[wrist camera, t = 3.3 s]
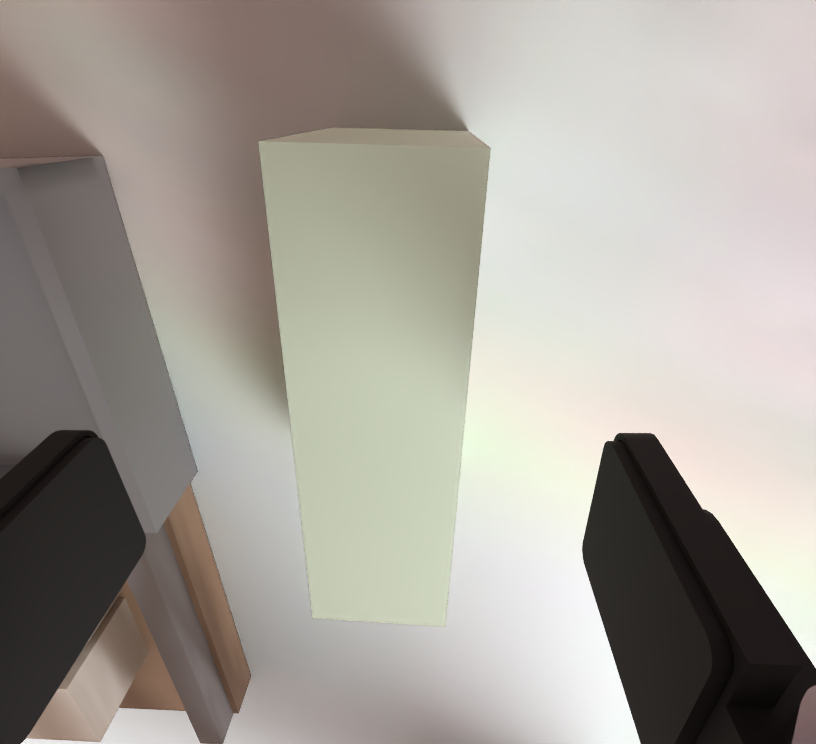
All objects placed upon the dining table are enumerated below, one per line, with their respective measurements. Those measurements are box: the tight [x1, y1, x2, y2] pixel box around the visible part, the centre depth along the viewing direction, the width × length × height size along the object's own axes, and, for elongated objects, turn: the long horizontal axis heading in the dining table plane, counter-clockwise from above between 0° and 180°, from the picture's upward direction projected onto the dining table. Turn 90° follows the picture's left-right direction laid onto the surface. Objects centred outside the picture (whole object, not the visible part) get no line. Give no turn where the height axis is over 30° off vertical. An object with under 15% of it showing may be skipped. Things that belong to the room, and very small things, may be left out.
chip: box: [27, 598, 149, 742], centre depth 22 cm, size 4×4×4 cm
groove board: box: [117, 484, 251, 744], centre depth 24 cm, size 11×15×4 cm
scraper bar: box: [258, 127, 491, 627], centre depth 15 cm, size 4×13×7 cm, turn 179°
